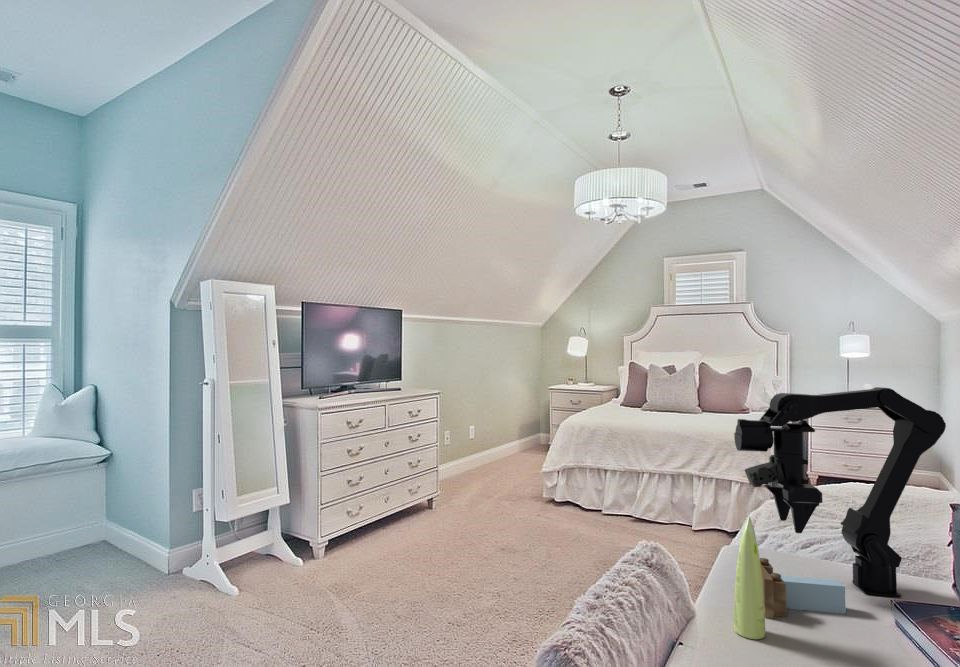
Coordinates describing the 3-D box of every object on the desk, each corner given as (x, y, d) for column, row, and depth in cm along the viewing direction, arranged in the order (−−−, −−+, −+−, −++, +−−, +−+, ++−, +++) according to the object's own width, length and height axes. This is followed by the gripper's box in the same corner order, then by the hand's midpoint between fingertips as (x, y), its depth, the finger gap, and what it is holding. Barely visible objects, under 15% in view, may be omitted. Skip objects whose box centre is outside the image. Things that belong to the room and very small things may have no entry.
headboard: (767, 589, 114) (766, 554, 115) (788, 620, 101) (787, 581, 101) (746, 587, 115) (746, 553, 116) (765, 618, 102) (764, 579, 102)
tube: (775, 640, 93) (772, 522, 94) (749, 643, 92) (747, 524, 93) (751, 624, 99) (749, 513, 100) (726, 627, 98) (725, 515, 99)
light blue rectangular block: (838, 606, 107) (837, 578, 107) (845, 613, 103) (844, 585, 104) (764, 599, 109) (764, 572, 110) (769, 606, 106) (768, 579, 107)
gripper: (737, 444, 129) (738, 512, 128) (761, 458, 111) (762, 537, 110) (789, 446, 127) (790, 515, 126) (822, 460, 109) (824, 541, 108)
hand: (790, 526), depth 118 cm, fingers open, 9 cm apart
